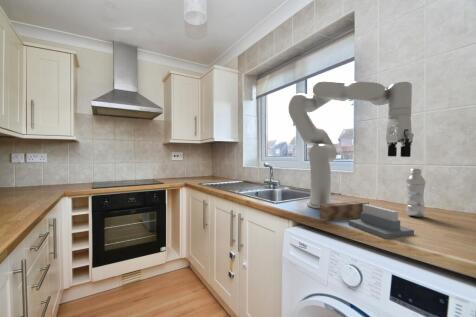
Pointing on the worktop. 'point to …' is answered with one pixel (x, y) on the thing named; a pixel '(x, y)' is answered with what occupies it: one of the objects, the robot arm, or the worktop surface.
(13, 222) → the worktop surface
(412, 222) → the worktop surface
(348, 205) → the brown wooden block
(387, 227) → the ridge stand
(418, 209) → the plastic bottle
